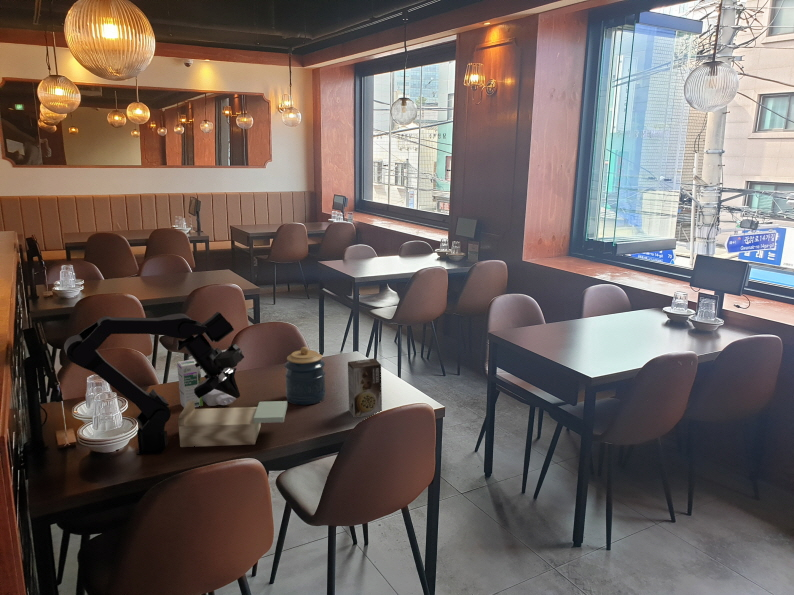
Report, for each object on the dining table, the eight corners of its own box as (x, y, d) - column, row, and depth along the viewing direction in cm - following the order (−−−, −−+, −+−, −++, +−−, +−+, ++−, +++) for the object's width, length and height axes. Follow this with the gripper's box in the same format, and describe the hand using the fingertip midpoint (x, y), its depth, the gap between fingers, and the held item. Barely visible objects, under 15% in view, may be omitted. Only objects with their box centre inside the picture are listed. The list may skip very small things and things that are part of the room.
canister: (321, 389, 209) (320, 339, 206) (329, 403, 197) (328, 350, 194) (283, 393, 205) (281, 343, 202) (289, 408, 193) (287, 354, 190)
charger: (215, 413, 189) (199, 399, 201) (243, 406, 195) (226, 392, 207) (214, 399, 188) (198, 385, 200) (242, 392, 194) (225, 379, 206)
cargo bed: (180, 447, 167) (178, 417, 165) (190, 428, 178) (188, 401, 176) (254, 444, 168) (253, 415, 166) (260, 426, 180) (259, 398, 178)
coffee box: (375, 406, 195) (375, 357, 191) (382, 413, 189) (382, 363, 186) (348, 410, 192) (347, 361, 188) (354, 418, 186) (353, 367, 182)
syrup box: (185, 410, 191) (181, 366, 188) (180, 404, 196) (176, 360, 193) (203, 406, 195) (200, 362, 191) (198, 400, 199) (195, 357, 196)
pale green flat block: (253, 417, 167) (283, 417, 168) (259, 401, 178) (287, 401, 179) (253, 422, 167) (283, 422, 168) (259, 406, 178) (287, 405, 179)
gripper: (206, 357, 155) (243, 404, 159) (239, 325, 172) (273, 368, 175) (177, 375, 160) (214, 420, 163) (213, 342, 177) (246, 384, 180)
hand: (238, 397), depth 170 cm, fingers closed
